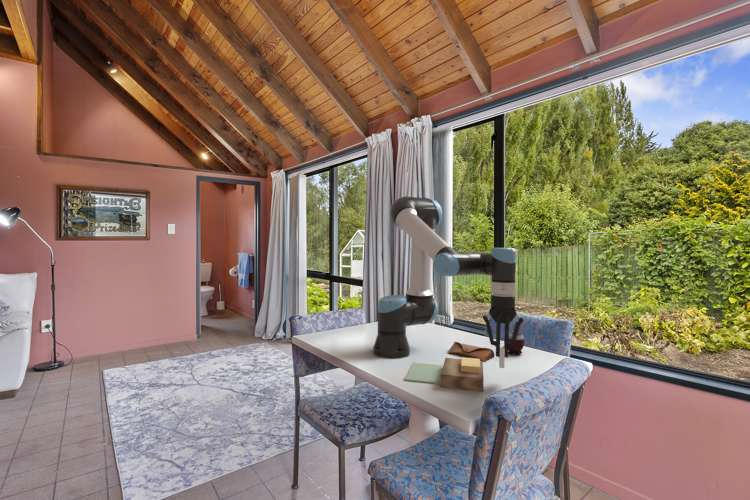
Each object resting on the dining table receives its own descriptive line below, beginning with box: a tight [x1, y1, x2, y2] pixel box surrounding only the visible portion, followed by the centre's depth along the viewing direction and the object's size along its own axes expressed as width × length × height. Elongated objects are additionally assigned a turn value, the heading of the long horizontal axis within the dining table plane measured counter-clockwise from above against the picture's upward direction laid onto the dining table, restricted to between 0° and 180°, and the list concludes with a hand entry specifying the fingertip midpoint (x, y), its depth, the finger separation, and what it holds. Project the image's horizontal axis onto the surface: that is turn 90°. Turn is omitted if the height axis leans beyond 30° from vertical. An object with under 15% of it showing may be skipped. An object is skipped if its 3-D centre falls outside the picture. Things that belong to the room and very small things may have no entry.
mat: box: [404, 361, 444, 385], centre depth 132 cm, size 12×18×1 cm, turn 165°
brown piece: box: [440, 357, 484, 392], centre depth 126 cm, size 13×18×4 cm
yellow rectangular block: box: [461, 356, 480, 373], centre depth 126 cm, size 6×9×2 cm, turn 165°
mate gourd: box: [508, 318, 531, 356], centre depth 157 cm, size 8×8×15 cm
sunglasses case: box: [446, 341, 495, 363], centre depth 154 cm, size 18×7×7 cm, turn 51°
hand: (501, 366), depth 123 cm, fingers closed
